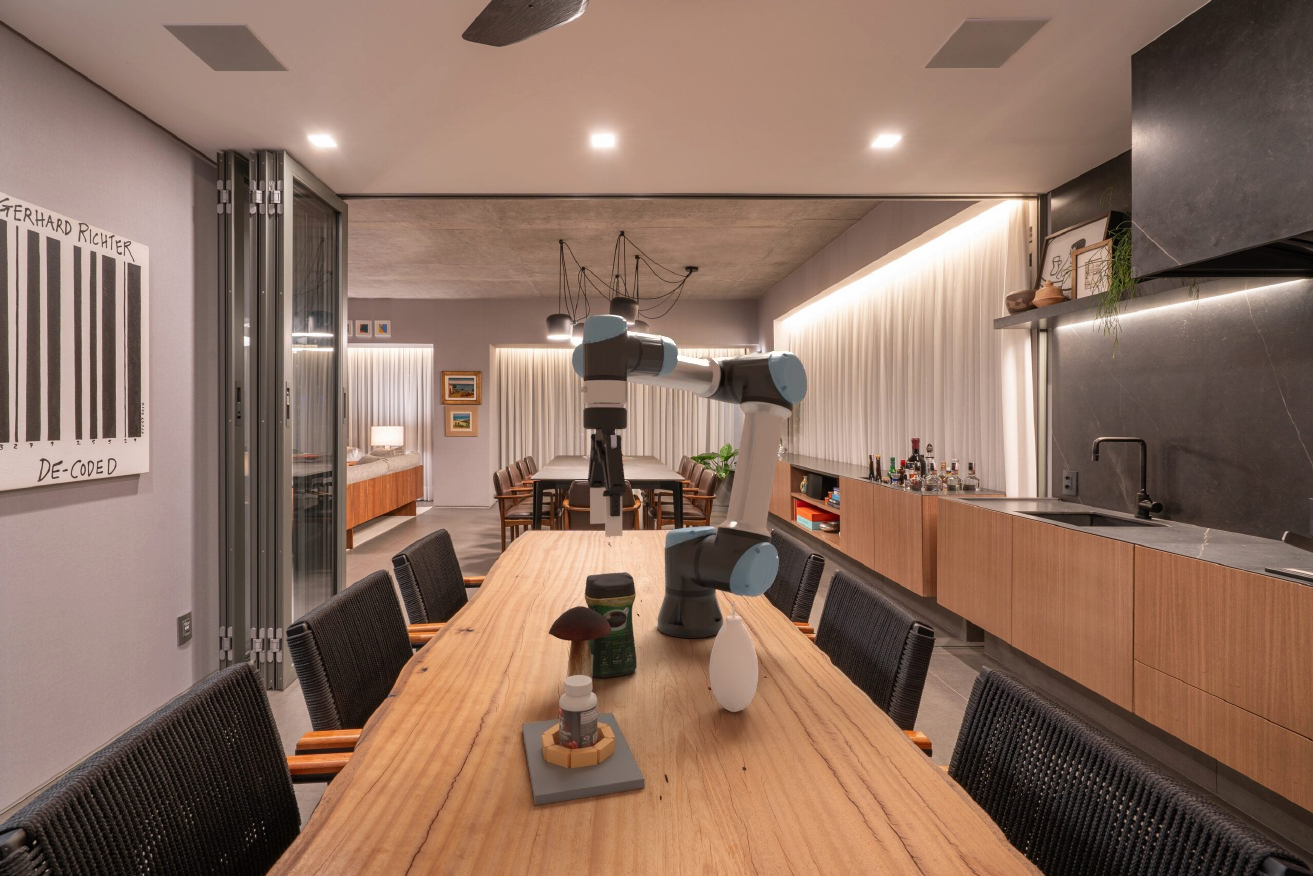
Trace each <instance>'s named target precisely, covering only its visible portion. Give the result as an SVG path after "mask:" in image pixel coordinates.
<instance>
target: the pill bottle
mask: <svg viewBox="0 0 1313 876" xmlns="http://www.w3.org/2000/svg"><path fill="white" fill-rule="evenodd" d="M563 692H564V693H563V694H562V695H561V696H560V698H559V701H558V719H559V746H562V747H565V748H568V749H579V748H586V747H593V746H594V745H596V744H597V714H598V697H597V695H596V693H594V692H593V678H592V679H591V678H590V677H588V676H584V675H574V676H570V677H568V676H567V677H566V678H565V679H564V680H563Z"/></svg>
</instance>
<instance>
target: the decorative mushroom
mask: <svg viewBox="0 0 1313 876" xmlns="http://www.w3.org/2000/svg"><path fill="white" fill-rule="evenodd" d="M611 631H612V629H611V626H610V625H609V623H608V621H607V619H606V618H605V617H604V616H602V615H601V614H599V613H598V612H596V611H594V610H592V609H589V608H588V607H586V606H583V605H581V606H580V605H578V606H575V607H572V608H569V609H567V610H566V611H564V612H563V613H562V614H561V615H560V616H559V617H558V618H557V619H556V620H555V621H553V623H552V624H551V626H550V628H549V631H548V634H549V635H551V636H553V637H555V638H557V639H559V640H563V641H571V642H570V647H569V657H568V672H567V678H568V677H570V676H574V675H584V676H588V677H590V678H591V679H592V680H593V675H592V659H591V652H590V646H589V640H593V639H598V638H601V637H604V636H606V635H609V634H610V633H611Z"/></svg>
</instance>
